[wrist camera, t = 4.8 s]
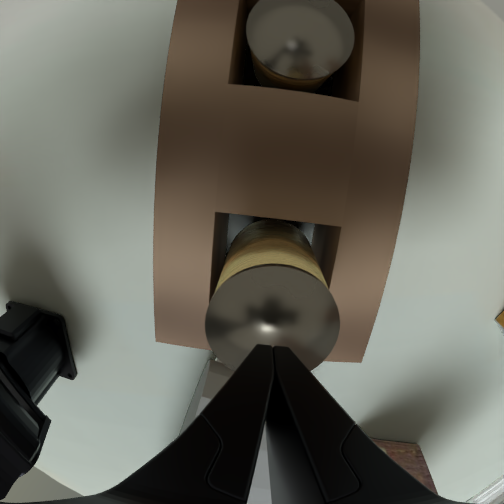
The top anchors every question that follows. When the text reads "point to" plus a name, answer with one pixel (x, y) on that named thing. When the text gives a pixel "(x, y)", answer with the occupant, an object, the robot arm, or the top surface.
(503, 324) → the small box
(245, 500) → the robot arm
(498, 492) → the building
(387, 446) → the brown wooden case
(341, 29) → the brass peg
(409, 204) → the top surface
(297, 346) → the brass peg
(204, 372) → the alarm clock
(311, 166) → the walnut block
